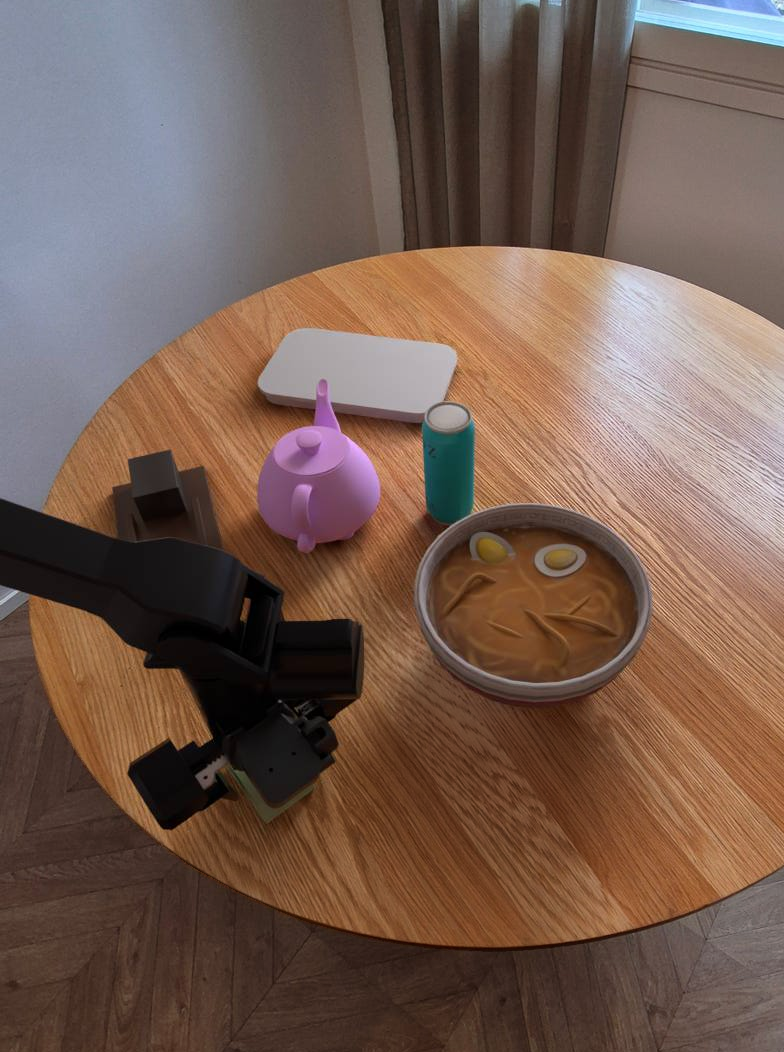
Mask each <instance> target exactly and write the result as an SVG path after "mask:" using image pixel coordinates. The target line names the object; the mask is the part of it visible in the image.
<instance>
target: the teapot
mask: <svg viewBox="0 0 784 1052" xmlns="http://www.w3.org/2000/svg"><path fill="white" fill-rule="evenodd" d="M313 420H314V421H313V425H309V426H304V427H299V428H295V429H293V430H291V431H289V432H287V433H286V434H284V435H282V437H281V438H280V439H279V440H278V441H277V442H276V443H275V444H274V445H273V447H272V448H271V450H270V452H269V454H268V455H267V457H266V458H265V460H264V463H263V465H262V467H261V470H260V472H259V477H258V480H257V491H256V499H257V505H258V510H259V513H260V516H261V518H262V519H263V521H264V522H265V524H266V525H267V526H268V527H269V528H270V529H271V530H272V531H274V532H275V533H277V534H278V535H280V536H282V537H285V538H287V539H290V540H293V541H296V543H297V544H296V547H297V550H298V551H300V552H301V553H304V554H307V553H310V552H312V551H313V550H314V549H315V547H316V544H324V543H329V542H335V541H337V540H339V541H347V540H349V539H351V538H352V537H353V536H354V535H355V532H356V531H358V530H359V529H361V528H362V527H363V526H364V525H365V524H366V523H368V522H369V520H370V519H371V518H372V517H373V515H374V514H375V512H376V510H377V508H378V506H379V503H380V499H381V485H380V480H379V477H378V474H377V471H376V469H375V467H374V465H373V463H372V461H371V459H370V458H369V457H368V455H367V454H366V452H365V451H364V450H363V449H362V448H361V447H360V446H359V445H358V444H357V443H355V442H354V441H353V440H352V439H351V438H350V437H348V436H347V435H346V434H344V433H342V430H341V427H340V424H339V422H338V419H337V417H336V414H335V412H333V410H332V407H331V403H330V398H329V387H328V383H327V381H326V380H325V379H321V380H320V381H319V382H318V385H317V389H316V409H315V412H314V419H313Z"/></svg>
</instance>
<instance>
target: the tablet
mask: <svg viewBox="0 0 784 1052" xmlns="http://www.w3.org/2000/svg"><path fill="white" fill-rule="evenodd" d="M458 361H459V359H458V353H457V351H456V350H455V349H454V348H453V347H451V346H450V345H447V344H444V343H438V342H429V341H421V340H414V339H406V338H405V339H403V338H397V337H388V336H380V335H371V334H364V333H356V332H348V331H341V330H340V331H339V330H338V331H337V330H331V329H322V328H317V327H316V328H315V327H302V328H296V329H295V330H292V331H289V333H286V335H285V336H284V337H283V339H282V340H281V341H280V343H279V345H278V346H277V349H276V350H275V351H274V353H273V355H272V356H271V358H270V359H269V361H268V363H267V364H266V366H265V368H264V369H263V370H262V372H261V373H260V375H259V377H258V378H257V386H258V390H259V391H260V393H261V394H262V395H264V396H265V397H266V400H267V401H269V403H272V404H275V405H279V406H288V407H294V408H301V409H309V410H316V389H317V385H318V382H319V381H320V380H321V379H325V380H326V381H327V383H328V387H329V398H330V403H331V407H332V410H333V412H334V413H337V414H338V413H339V414H345V415H346V414H347V415H355V416H361V417H369V418H375V419H383V420H391V421H398V422H405V423H412V424H423V422H424V415H425V412H426V410H427V409H428V408H429V407H430V406H432V405H434V404H436V403H439V402H445V398H446V395H447V393H448V390H449V387H450V385H451V382H452V379H453V376H454V374H455V370H456V367H457V364H458Z"/></svg>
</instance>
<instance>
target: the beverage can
mask: <svg viewBox="0 0 784 1052" xmlns="http://www.w3.org/2000/svg"><path fill="white" fill-rule="evenodd" d="M475 427H476V425H475V422H474V420H473V414H472V411H471V410H470V408H469V407H467V406H466V405H465V404H464V403H461V402H457V401H450V400H447V401H445V400H444V401H443V402H439V403H436V404H434V405H432V406H430V407H429V408H428V409H427V410H426V412H425V415H424V422H423V423H421V437H422V452H423V453H422V456H423V476H424V495H425V496H424V497H425V506H426V509H427V511H428V514H429V515H430V517H431V518H432V519H433V521H435V522H436V523H438V524H439V525H442V526H447V527H450V526H451V525H453V524H454V523H456V522H458V521H460V520H461V519H463V518H465V517H467V516H469V515H470V514H471V512H472V510H473V509H474V506H475V505H474V504H475V449H476V448H475V445H476V444H475V437H476V435H475V434H476V430H475V429H476V428H475Z"/></svg>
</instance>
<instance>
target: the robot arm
mask: <svg viewBox="0 0 784 1052" xmlns="http://www.w3.org/2000/svg"><path fill="white" fill-rule="evenodd" d="M0 586H1V587H5V588H8V589H11V590H15V591H18V592H21V593H23V594H28V595H31V596H34V597H37V598H41V599H44V600H47V601H51V602H55V603H57V604H61V605H64V606H67V607H70V608H74V609H78V610H81V611H84V612H85V613H89V614H90V615H94V616H96V617H98V618H101V619H102V620H103V621H104V622H105V624H107V625H108V627H110V629H111V630H112V631H113V632H114V633H115V634H116V635H117V636H118V638H120V640H122V642H123V643H124V644H126V645H127V646H129V647H132V648H134V649H137V650H139V651H142V652H144V653H145V656H144V660H143V662H142V666H143V668H144V669H148V670H177V671H179V673H180V675H181V678H182V679H183V682H184V683H185V685H186V687H187V689H188V691H189V693H190V695H191V697H192V699H193V702H194V704H195V706H196V707H197V710H198V711H199V714H200V715H201V717H202V720H203V721H204V723H205V725H206V728H207V730H208V732H209V733H210V735H211V739H209V740H208V741H207V742H205V743H204V744H203V743H202V744H201V746H200V745H199V744H198V743H197V742H196V741H195V740H194V739H193V740H191V741H189V743H188V744H185V745H184V746H182V747H181V748H180V749H177V747H176V745H175V744H174V743H173V741H172V740H171V738H169V737H168V738H166V739H165V740H163V741H161V742H160V743H158V744H157V745H155V746H154V747H152V748H150V749H149V750H148V751H146V752H144V753H143V754H142V755H140V756H138V757H137V758H135V759H133V760H132V761H131V762H129V765H128V768H127V776H128V778H129V780H130V782H131V783H132V785H133V786H134V788H135V789H136V791H137V793H138V794H139V796H140V798H141V799H142V801H143V802H144V804H145V806H146V807H147V809H148V810H149V812H150V814H151V815H152V817H153V818H154V820H155V822H156V823H157V824H158V826H159V827H160V828H161V830H162V831H163V830H164V831H165V830H166V831H174V830H175V829H176V828H178V827H180V825H182V824H184V822H186V821H188V820H189V819H190V818H192V817H194V816H195V815H196V814H197V813H199V812H200V813H201V812H203V811H205V810H206V809H208V808H209V807H211V806H212V805H214V804H215V803H216V802H218V801H219V800H221V799H223V800H226V801H231V802H234V803H237V802H238V801H240V800H241V798H240V796H239V793H238V792H237V790H236V789H235V787H233V785H232V783H231V782H230V781H229V779H228V778H227V777H226V775H224V773H223V772H222V771H221V770H222V769H224V768H226V766H227V765H228V764H230V765H231V767H232V768H233V769H234V771H235V770H238V771H244V772H245V774H246V775H247V777H248V778H249V780H250V781H251V783H252V784H253V786H254V787H255V789H256V790H257V792H258V793H259V795H260V796H261V798H262V799H263V801H264V802H265V804H266V805H267V806H269V807H271V808H280V807H282V806H284V805H285V804H286V803H288V802H289V801H290V800H291V799H293V798H294V797H295V796H297V795H298V794H299V793H301V792H302V791H304V790H305V789H306V788H308V787H309V786H311V785H312V784H315V783H316V782H317V781H318V779H319V777H320V775H321V774H322V773H323V772H324V771H326V770H327V769H328V768H330V767H331V766H332V765H334V764H335V763H336V760H335V757H334V756H333V755H332V753H333V752H335V751H336V750H337V749H338V748H339V745H340V743H339V741H338V738H337V735H336V732H335V730H334V728H332V726H331V725H330V722H331V721H333V720H334V719H335V718H336V717H337V715H338V714H339V713H341V712H342V711H343V710H345V709H346V708H348V707H349V706H350V705H352V704H353V703H355V702H356V701H358V700H360V699H361V697H362V694H363V689H364V679H365V637H364V635H365V634H364V628H363V624H360V623H359V621H358V620H353V619H352V618H330V619H323V620H286V618H285V615H284V612H283V603H284V599H285V590H284V589H282V588H280V587H279V586H277V585H276V584H275V583H273V582H271V581H270V580H268V579H267V578H266V575H264V574H262V573H260V572H258V571H256V570H254V569H252V568H250V567H249V566H247V565H245V564H244V563H243V562H242V561H241V560H240V559H238V558H237V557H236V556H235V555H233V554H232V553H229V552H228V551H225V550H220V549H217V548H214V547H210V546H206V545H202V544H198V543H194V542H189V541H185V540H181V539H177V538H173V537H165V538H158V539H151V540H144V541H137V542H131V541H127V540H123V539H119V538H118V537H114V536H111V535H108V534H105V533H103V532H100V531H97V530H94V529H91V528H89V527H85V526H82V525H80V524H77V523H74V522H71V521H68V520H65V519H62V518H59V517H57V516H53V515H52V514H48V513H45V512H42V511H39V510H37V509H34V508H31V507H27V506H25V505H22V504H19V503H16V502H14V501H11V500H7V499H5V498H2V497H0ZM246 599H249V603H248V608H247V613H246V616H245V621H244V620H242V619H241V618H242V614H243V609H244V606H245V600H246Z"/></svg>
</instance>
